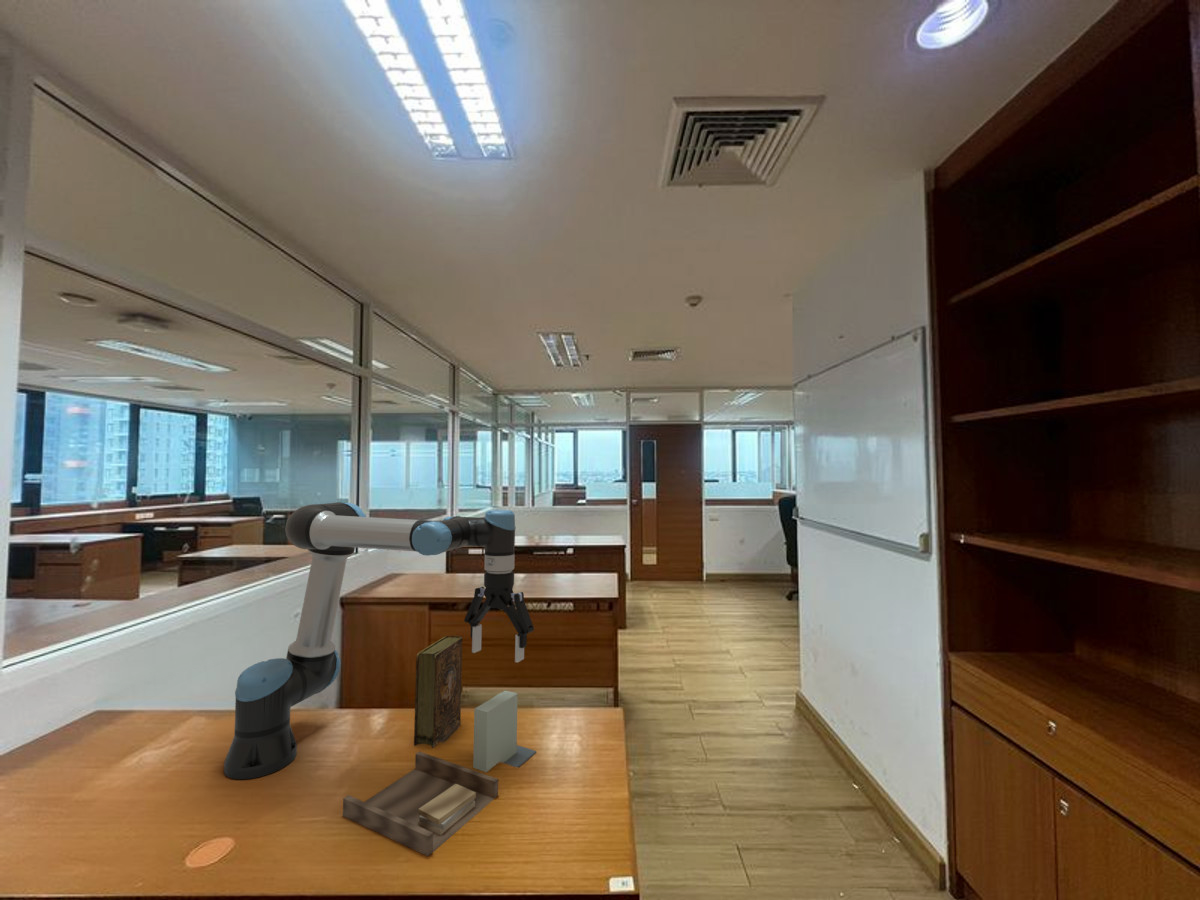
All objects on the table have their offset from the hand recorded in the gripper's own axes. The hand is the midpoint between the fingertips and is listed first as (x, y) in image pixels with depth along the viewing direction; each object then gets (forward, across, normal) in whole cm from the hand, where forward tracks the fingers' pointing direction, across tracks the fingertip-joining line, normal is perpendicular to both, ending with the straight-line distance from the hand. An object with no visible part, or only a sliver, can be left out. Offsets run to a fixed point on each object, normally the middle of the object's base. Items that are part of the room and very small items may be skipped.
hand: (497, 655), depth 129 cm
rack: (+26, -2, -22) cm, 34 cm away
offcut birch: (+25, +5, -22) cm, 34 cm away
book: (+27, -22, +3) cm, 35 cm away
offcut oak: (+23, +5, -22) cm, 32 cm away
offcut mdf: (+24, +5, -22) cm, 33 cm away
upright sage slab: (+26, 0, 0) cm, 26 cm away
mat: (+26, 0, 0) cm, 26 cm away
